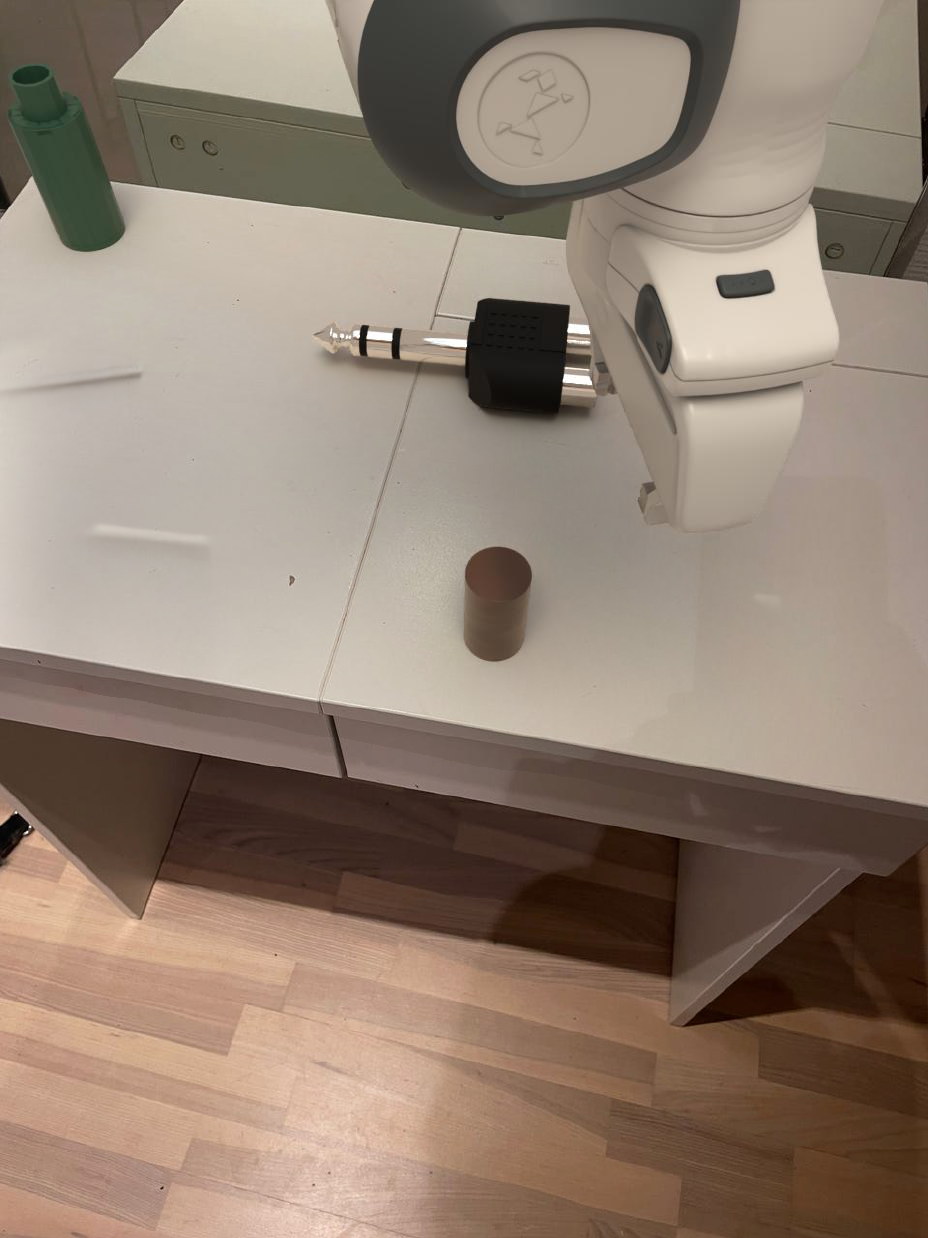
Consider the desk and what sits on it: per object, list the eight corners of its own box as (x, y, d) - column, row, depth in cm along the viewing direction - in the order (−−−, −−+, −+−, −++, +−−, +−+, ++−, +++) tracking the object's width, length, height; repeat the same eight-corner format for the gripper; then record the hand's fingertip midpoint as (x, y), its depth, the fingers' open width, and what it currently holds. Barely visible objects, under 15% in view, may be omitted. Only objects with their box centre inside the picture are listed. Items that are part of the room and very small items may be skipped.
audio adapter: (600, 382, 70) (294, 354, 71) (591, 430, 74) (303, 402, 76) (605, 293, 75) (321, 269, 77) (597, 342, 80) (329, 318, 81)
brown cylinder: (470, 666, 62) (472, 606, 56) (458, 614, 65) (458, 551, 58) (530, 656, 63) (539, 595, 56) (516, 605, 65) (523, 541, 58)
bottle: (58, 254, 86) (-11, 97, 73) (61, 215, 89) (-6, 58, 76) (124, 247, 87) (67, 90, 74) (124, 208, 90) (70, 51, 77)
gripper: (551, 90, 41) (529, 327, 53) (695, 399, 31) (628, 608, 42) (679, 78, 42) (629, 314, 54) (862, 375, 31) (750, 587, 43)
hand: (629, 446), depth 48 cm, fingers open, 8 cm apart
